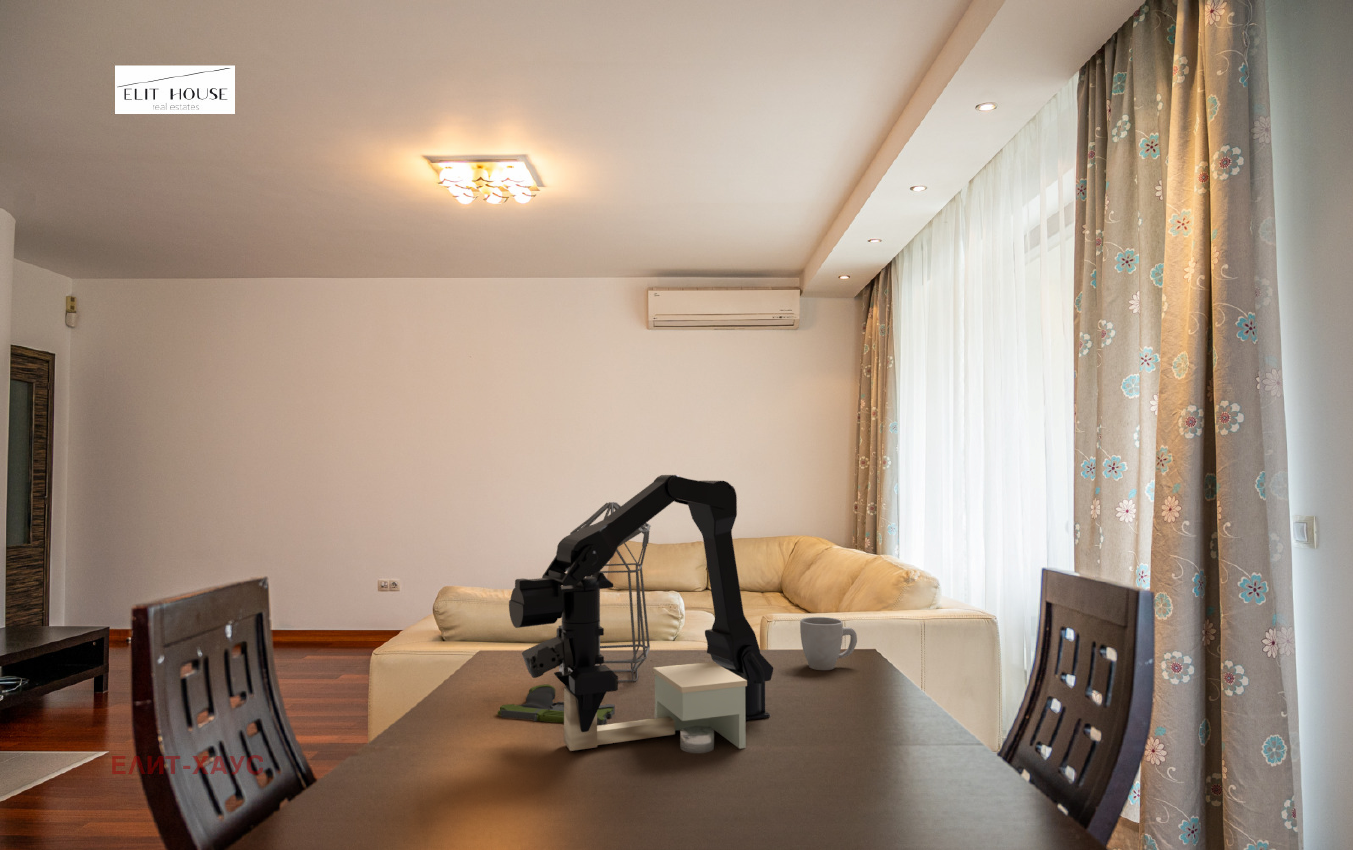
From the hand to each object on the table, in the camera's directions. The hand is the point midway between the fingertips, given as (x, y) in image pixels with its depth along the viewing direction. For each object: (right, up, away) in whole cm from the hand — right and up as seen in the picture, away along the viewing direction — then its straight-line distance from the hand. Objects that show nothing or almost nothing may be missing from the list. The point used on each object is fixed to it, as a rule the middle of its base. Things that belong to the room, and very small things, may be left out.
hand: (581, 726), depth 115 cm
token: (+17, -3, 0) cm, 18 cm away
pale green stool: (+18, -3, +4) cm, 18 cm away
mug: (+46, -6, +48) cm, 67 cm away
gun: (-5, -5, +19) cm, 20 cm away
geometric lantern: (+1, -6, +40) cm, 40 cm away
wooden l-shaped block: (+6, -3, +2) cm, 7 cm away
